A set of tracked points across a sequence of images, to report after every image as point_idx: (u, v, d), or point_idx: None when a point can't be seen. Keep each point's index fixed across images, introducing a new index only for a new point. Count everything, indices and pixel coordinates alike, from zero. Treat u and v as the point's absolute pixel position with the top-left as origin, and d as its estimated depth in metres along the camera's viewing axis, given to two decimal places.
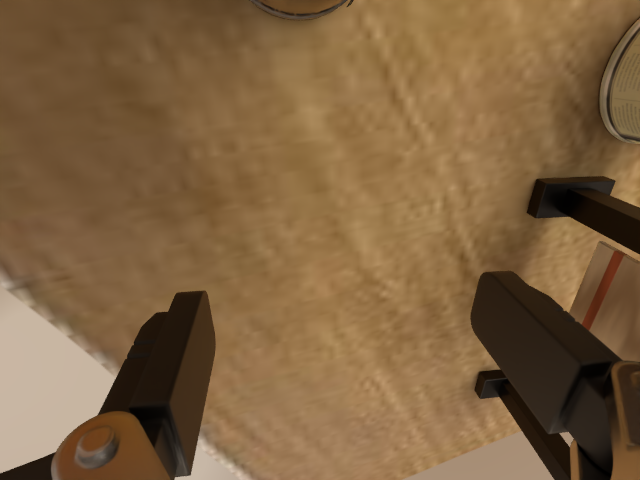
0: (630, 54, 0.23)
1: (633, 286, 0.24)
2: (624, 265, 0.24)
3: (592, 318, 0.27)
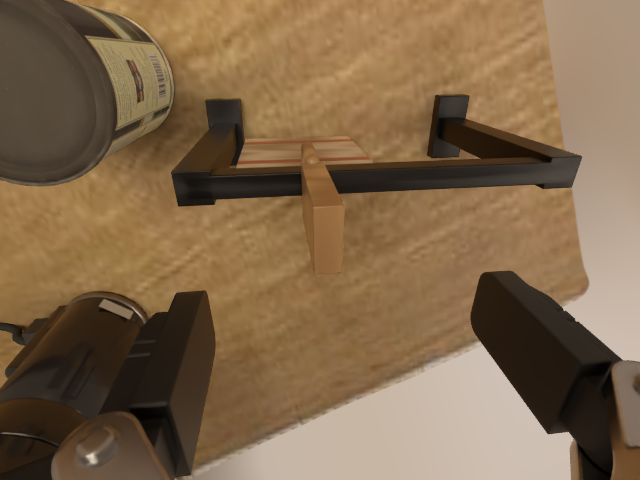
0: None
1: None
2: None
3: None
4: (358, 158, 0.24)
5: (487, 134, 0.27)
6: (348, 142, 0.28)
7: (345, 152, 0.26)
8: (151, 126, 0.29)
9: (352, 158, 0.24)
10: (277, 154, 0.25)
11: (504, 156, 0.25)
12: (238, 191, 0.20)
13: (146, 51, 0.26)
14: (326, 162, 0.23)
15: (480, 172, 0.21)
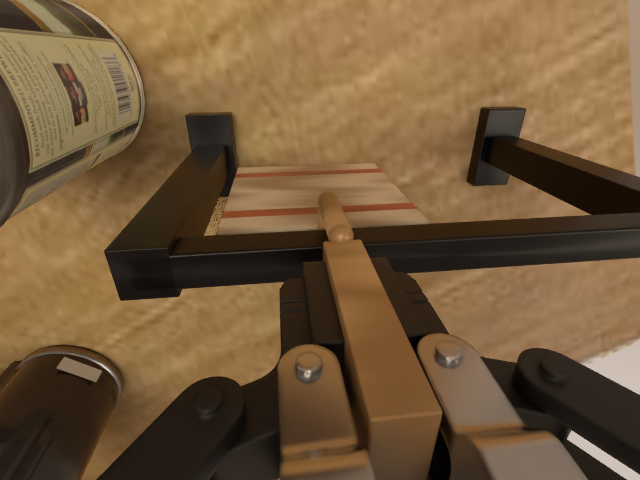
0: None
1: None
2: None
3: None
4: (398, 206, 0.16)
5: (569, 166, 0.20)
6: (376, 174, 0.21)
7: (377, 194, 0.18)
8: (111, 151, 0.22)
9: (390, 206, 0.16)
10: (281, 197, 0.18)
11: (602, 200, 0.18)
12: (217, 276, 0.12)
13: (97, 50, 0.19)
14: (353, 215, 0.16)
15: (597, 240, 0.13)
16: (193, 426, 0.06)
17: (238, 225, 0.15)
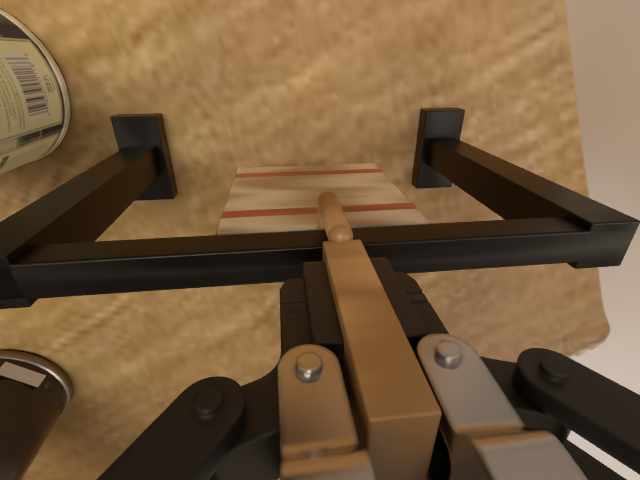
0: None
1: None
2: None
3: None
4: (398, 206, 0.16)
5: (488, 169, 0.19)
6: (376, 174, 0.21)
7: (376, 194, 0.18)
8: (28, 153, 0.21)
9: (390, 206, 0.16)
10: (280, 197, 0.18)
11: (512, 205, 0.17)
12: (67, 286, 0.12)
13: None
14: (353, 215, 0.16)
15: (476, 248, 0.13)
16: (193, 426, 0.06)
17: (238, 225, 0.15)
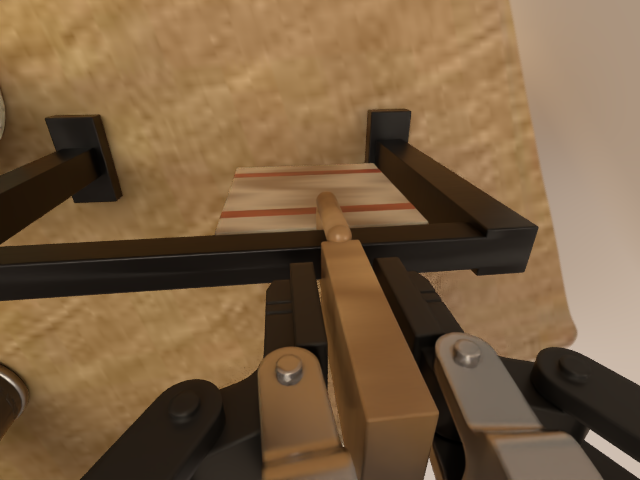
0: None
1: None
2: None
3: None
4: (397, 206, 0.16)
5: (416, 172, 0.19)
6: (375, 174, 0.21)
7: (375, 194, 0.18)
8: None
9: (388, 206, 0.16)
10: (279, 197, 0.18)
11: (433, 209, 0.17)
12: None
13: None
14: (352, 215, 0.16)
15: (366, 255, 0.12)
16: (170, 430, 0.06)
17: (237, 225, 0.15)
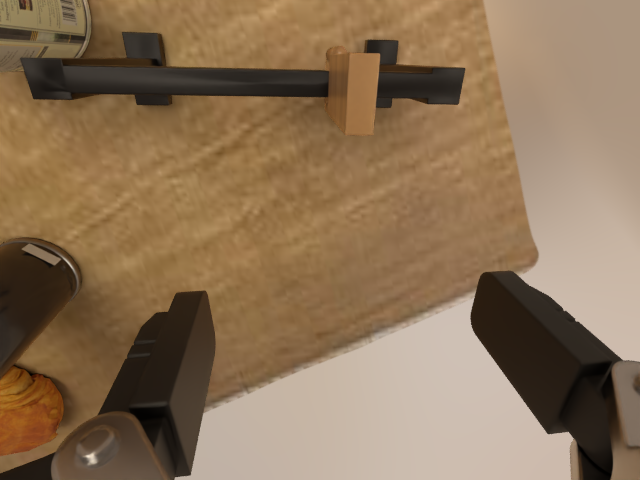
0: None
1: None
2: None
3: None
4: None
5: (396, 65, 0.26)
6: None
7: None
8: (60, 52, 0.29)
9: None
10: None
11: None
12: (96, 85, 0.19)
13: None
14: None
15: None
16: None
17: None
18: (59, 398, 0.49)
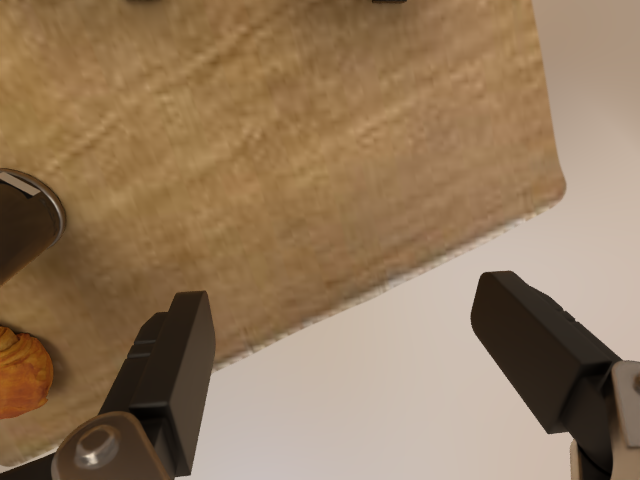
0: None
1: None
2: None
3: None
4: None
5: None
6: None
7: None
8: None
9: None
10: None
11: None
12: None
13: None
14: None
15: None
16: None
17: None
18: (48, 359, 0.45)
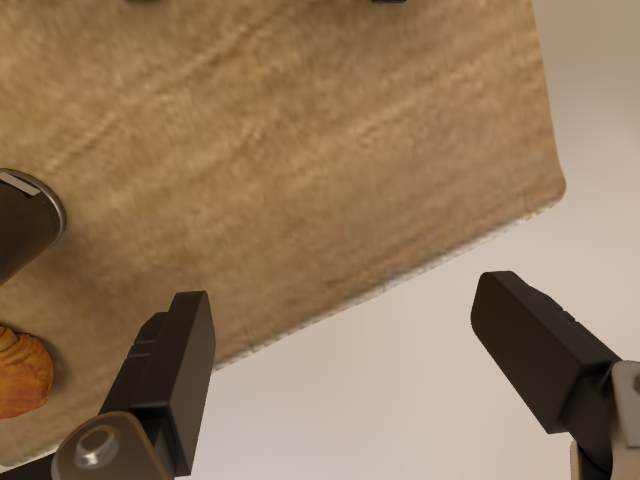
0: None
1: None
2: None
3: None
4: None
5: None
6: None
7: None
8: None
9: None
10: None
11: None
12: None
13: None
14: None
15: None
16: None
17: None
18: (48, 359, 0.45)
